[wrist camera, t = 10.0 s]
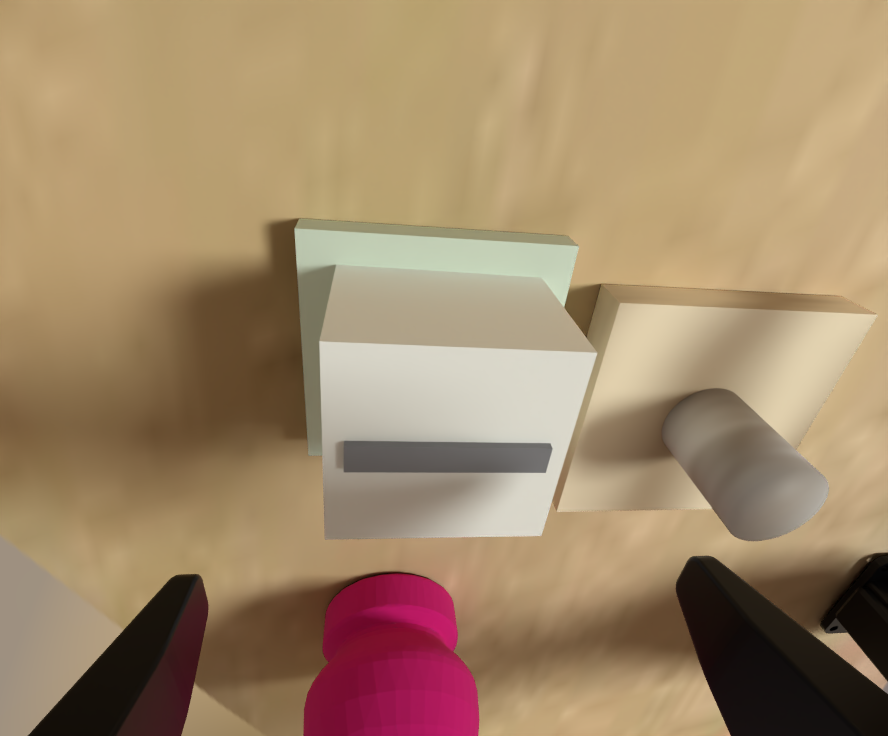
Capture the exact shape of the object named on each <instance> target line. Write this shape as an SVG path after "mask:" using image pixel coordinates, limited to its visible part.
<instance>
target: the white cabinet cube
mask: <svg viewBox="0 0 888 736" xmlns="http://www.w3.org/2000/svg"><path fill="white" fill-rule="evenodd" d="M319 347H320V383H321V420H322V456H323V492H324V529H325V540H327V539H386V538H444V537H503V536H541V535H542V532H543V528H544V525H545V522H546V519H547V515H548V512H549V509H550V506H551V502H552V499H553V496H554V493H555V489H556V486H557V483H558V480H559V476H560V473H561V470H562V467H563V463H564V460H565V457H566V454H567V450H568V447H569V444H570V441H571V437H572V434H573V431H574V428H575V424H576V421H577V418H578V415H579V411H580V408H581V405H582V402H583V398H584V395H585V392H586V389H587V385H588V382H589V379H590V375H591V372H592V369H593V366H594V362H595V359H596V356H597V351H596V350H595V349H594V347H593V346H592V345H591V343H590V342H589V341H588V339H587V338H586V337H585V335H584V334H583V333H582V331H581V330H580V329H579V327H578V326H577V324H576V323H575V322H574V320H573V319H572V318H571V316H570V315H569V314H568V312H567V311H566V310H565V308H564V307H563V306H562V304H561V303H560V302H559V300H558V299H557V298H556V296H555V295H554V294H553V292H552V291H551V289H550V288H549V287H548V285H547V284H546V283H545V281H544V280H543V279H542V277H526V276H510V275H495V274H479V273H463V272H447V271H432V270H416V269H400V268H384V267H369V266H353V265H337V264H336V268H335V272H334V277H333V281H332V286H331V291H330V295H329V300H328V304H327V309H326V313H325V318H324V323H323V327H322V332H321V336H320V341H319Z"/></svg>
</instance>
